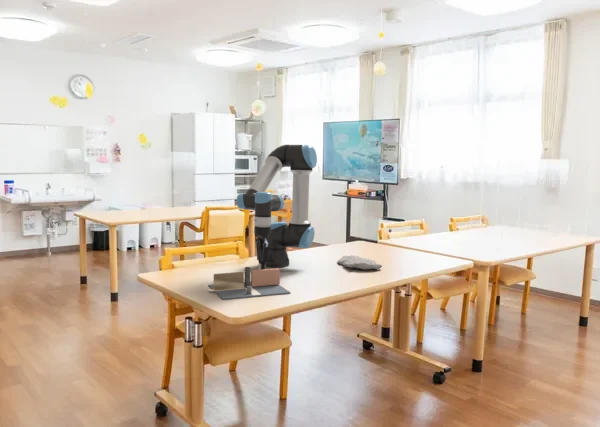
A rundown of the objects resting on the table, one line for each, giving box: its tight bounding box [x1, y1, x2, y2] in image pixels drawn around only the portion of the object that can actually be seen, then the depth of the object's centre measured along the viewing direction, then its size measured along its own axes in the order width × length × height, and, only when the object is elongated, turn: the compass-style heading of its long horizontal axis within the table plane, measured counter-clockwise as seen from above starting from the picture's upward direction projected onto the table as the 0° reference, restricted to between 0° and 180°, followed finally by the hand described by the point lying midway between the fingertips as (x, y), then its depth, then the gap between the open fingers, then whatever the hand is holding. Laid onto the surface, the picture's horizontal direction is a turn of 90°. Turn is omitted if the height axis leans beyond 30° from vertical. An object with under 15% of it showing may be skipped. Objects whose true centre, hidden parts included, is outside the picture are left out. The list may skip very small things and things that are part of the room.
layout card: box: [208, 280, 291, 301], centre depth 230 cm, size 24×32×4 cm
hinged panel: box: [250, 267, 281, 287], centre depth 235 cm, size 2×13×7 cm, turn 113°
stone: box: [337, 254, 383, 271], centre depth 284 cm, size 18×5×30 cm
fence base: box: [213, 266, 251, 290], centre depth 229 cm, size 2×16×9 cm, turn 113°
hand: (261, 276), depth 240 cm, fingers closed
